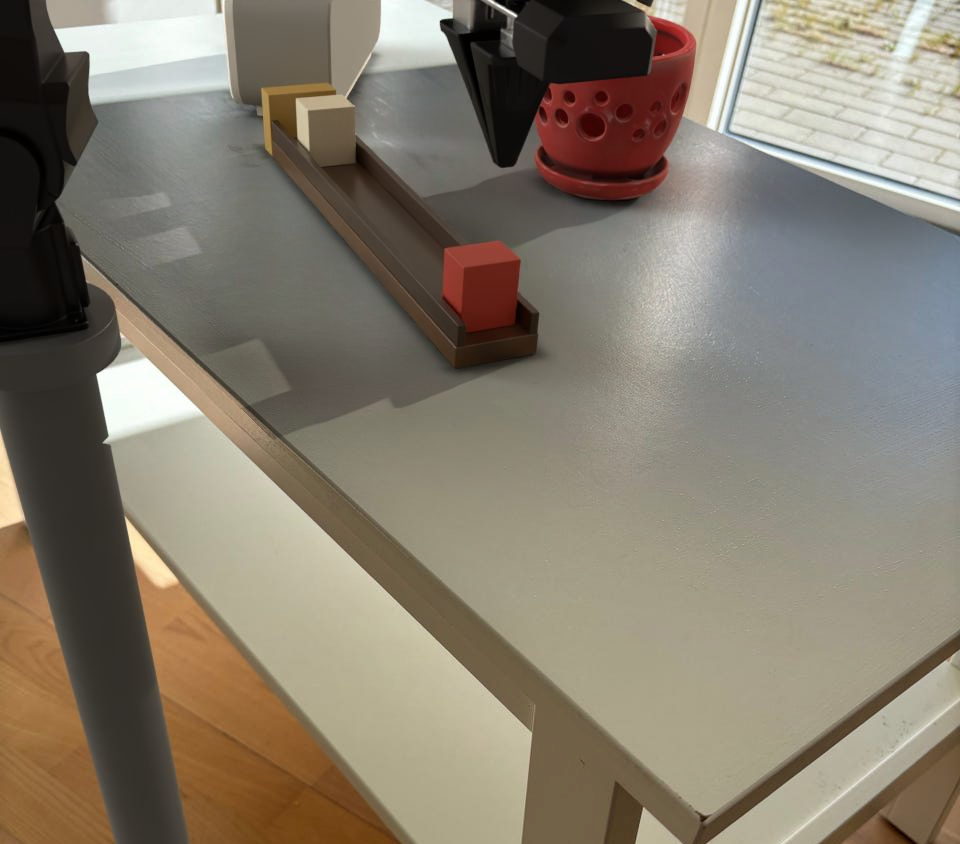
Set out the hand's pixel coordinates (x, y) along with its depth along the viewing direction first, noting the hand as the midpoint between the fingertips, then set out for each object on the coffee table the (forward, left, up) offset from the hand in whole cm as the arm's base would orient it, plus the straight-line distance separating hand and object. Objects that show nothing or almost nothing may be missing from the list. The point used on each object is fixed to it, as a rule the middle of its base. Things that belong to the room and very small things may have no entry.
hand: (504, 165), depth 64 cm
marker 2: (0, +2, -10) cm, 11 cm away
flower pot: (+22, +24, -12) cm, 34 cm away
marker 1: (0, +31, -11) cm, 33 cm away
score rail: (0, +18, -12) cm, 21 cm away
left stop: (0, +38, -12) cm, 40 cm away
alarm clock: (+7, +55, -12) cm, 56 cm away
